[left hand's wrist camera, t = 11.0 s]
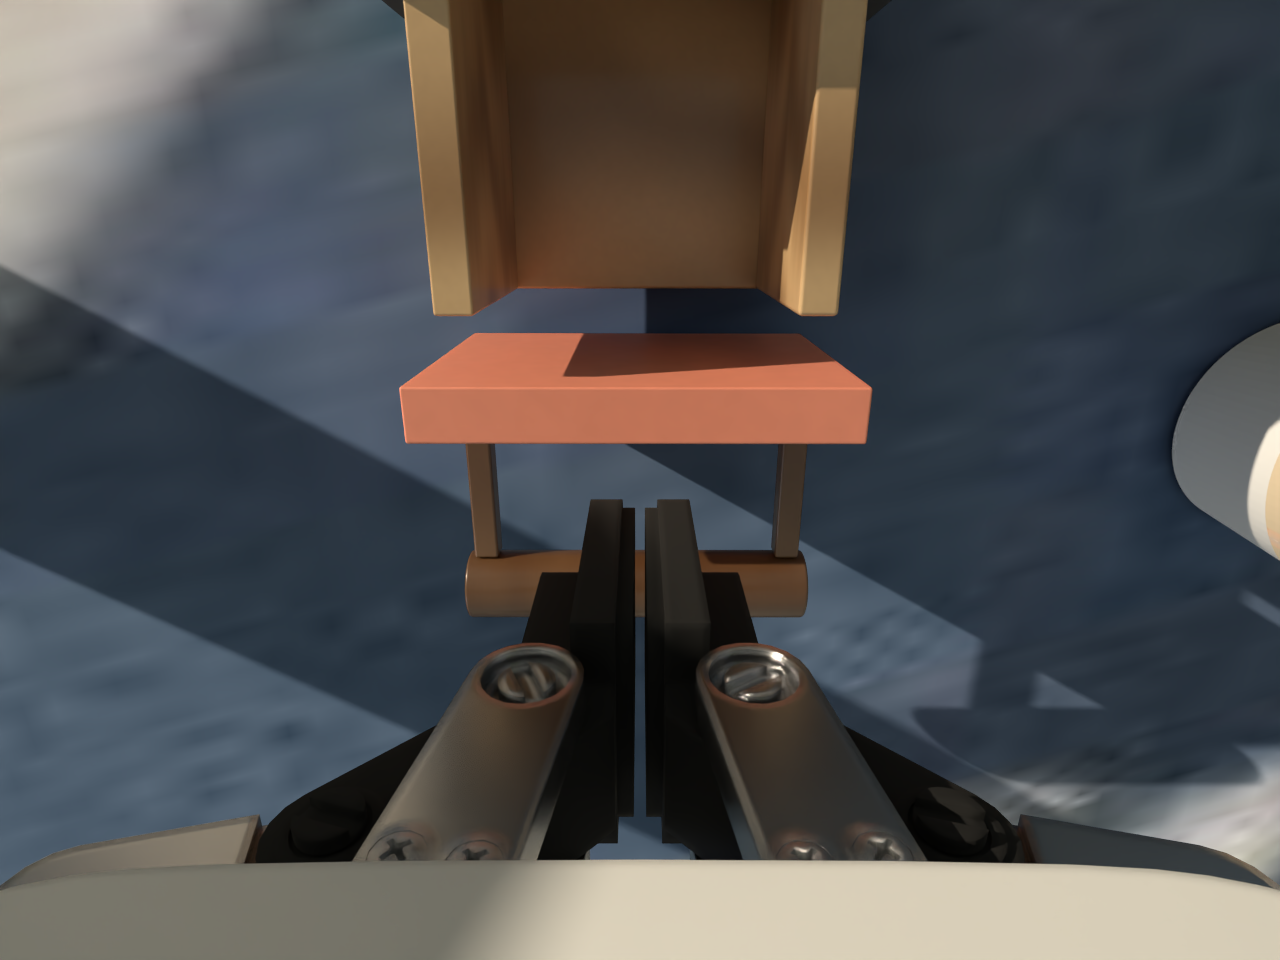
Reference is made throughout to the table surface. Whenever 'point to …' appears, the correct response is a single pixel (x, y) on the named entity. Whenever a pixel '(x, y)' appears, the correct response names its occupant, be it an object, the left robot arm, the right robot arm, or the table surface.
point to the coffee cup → (1236, 441)
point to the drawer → (635, 241)
